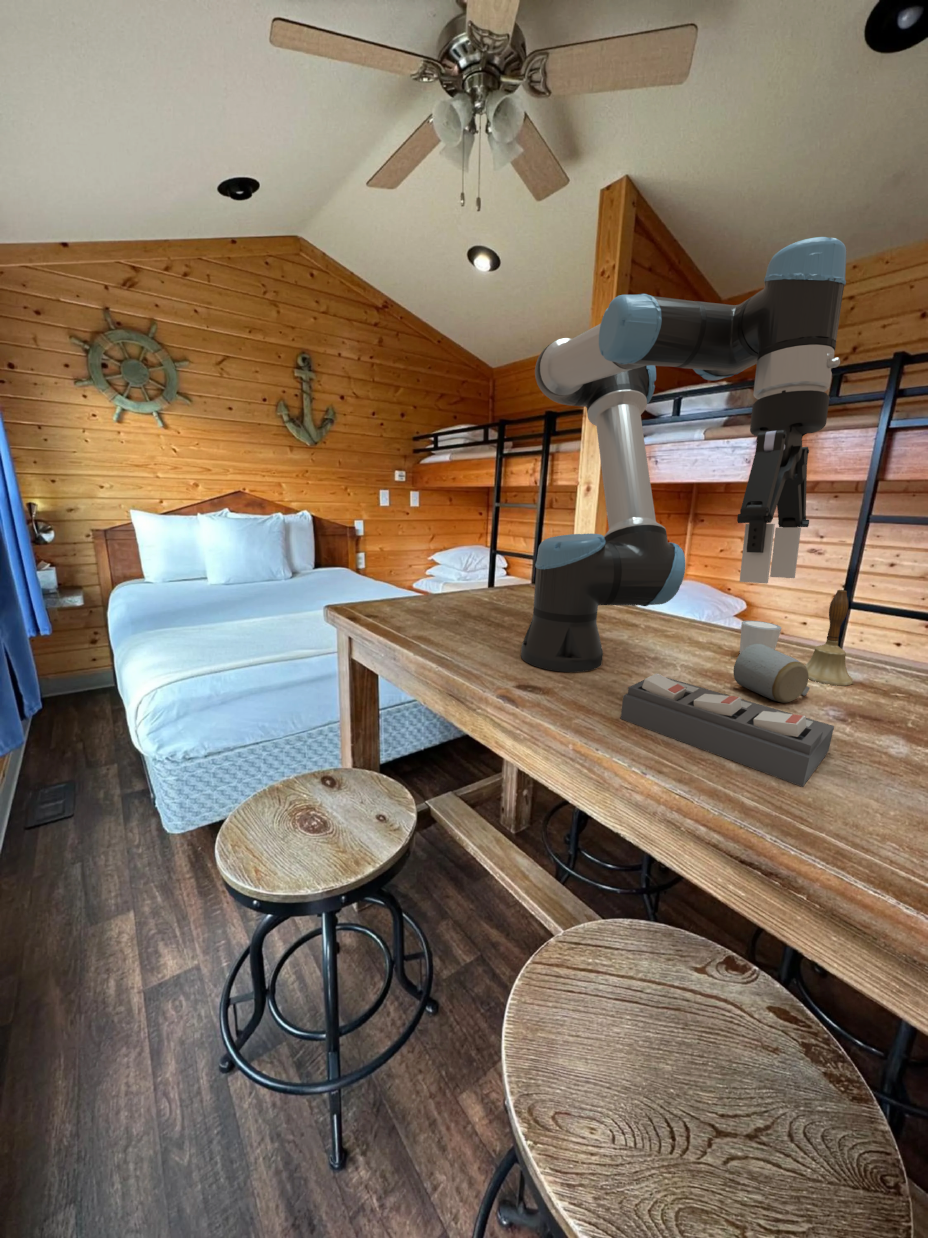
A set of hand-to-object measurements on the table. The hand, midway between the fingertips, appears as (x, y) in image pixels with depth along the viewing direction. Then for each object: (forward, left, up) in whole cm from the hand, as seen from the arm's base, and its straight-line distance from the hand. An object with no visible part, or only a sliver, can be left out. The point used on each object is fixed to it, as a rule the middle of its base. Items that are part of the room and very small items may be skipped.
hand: (769, 580), depth 61 cm
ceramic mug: (-2, +20, -21) cm, 29 cm away
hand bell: (+2, +37, -21) cm, 43 cm away
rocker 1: (-9, -5, -16) cm, 19 cm away
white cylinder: (-10, +39, -21) cm, 45 cm away
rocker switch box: (-2, -2, -21) cm, 21 cm away
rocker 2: (+5, -5, -16) cm, 17 cm away
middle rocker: (-2, -5, -16) cm, 17 cm away
